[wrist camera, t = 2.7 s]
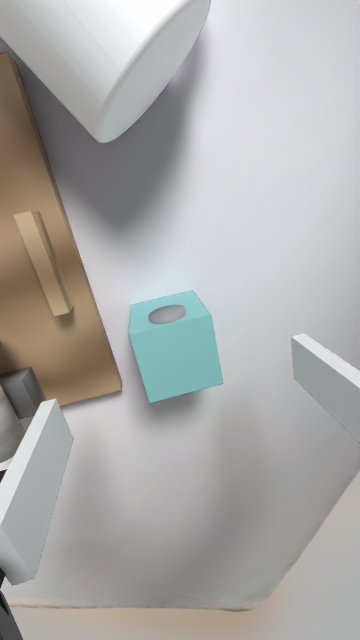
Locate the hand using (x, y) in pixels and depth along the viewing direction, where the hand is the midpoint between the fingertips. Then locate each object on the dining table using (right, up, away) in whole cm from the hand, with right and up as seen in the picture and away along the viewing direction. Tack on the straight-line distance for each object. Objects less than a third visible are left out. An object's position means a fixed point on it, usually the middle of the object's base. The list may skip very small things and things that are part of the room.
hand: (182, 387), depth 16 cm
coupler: (-1, +3, +8) cm, 8 cm away
